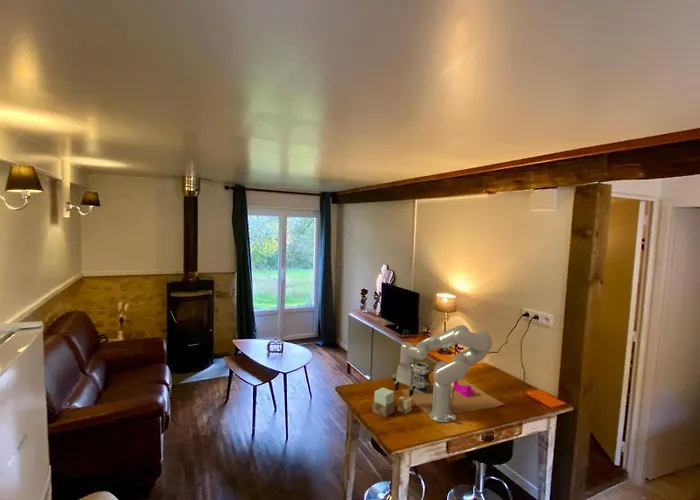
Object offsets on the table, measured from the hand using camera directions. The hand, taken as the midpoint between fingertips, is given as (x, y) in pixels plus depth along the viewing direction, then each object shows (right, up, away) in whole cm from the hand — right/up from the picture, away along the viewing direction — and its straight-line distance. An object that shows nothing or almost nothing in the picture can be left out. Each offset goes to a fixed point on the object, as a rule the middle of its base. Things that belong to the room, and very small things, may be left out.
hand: (403, 392), depth 218 cm
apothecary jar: (+15, -10, +27) cm, 32 cm away
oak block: (0, -10, 0) cm, 10 cm away
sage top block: (-12, -4, -2) cm, 13 cm away
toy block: (+42, -11, +27) cm, 51 cm away
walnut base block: (-12, -10, -2) cm, 16 cm away
